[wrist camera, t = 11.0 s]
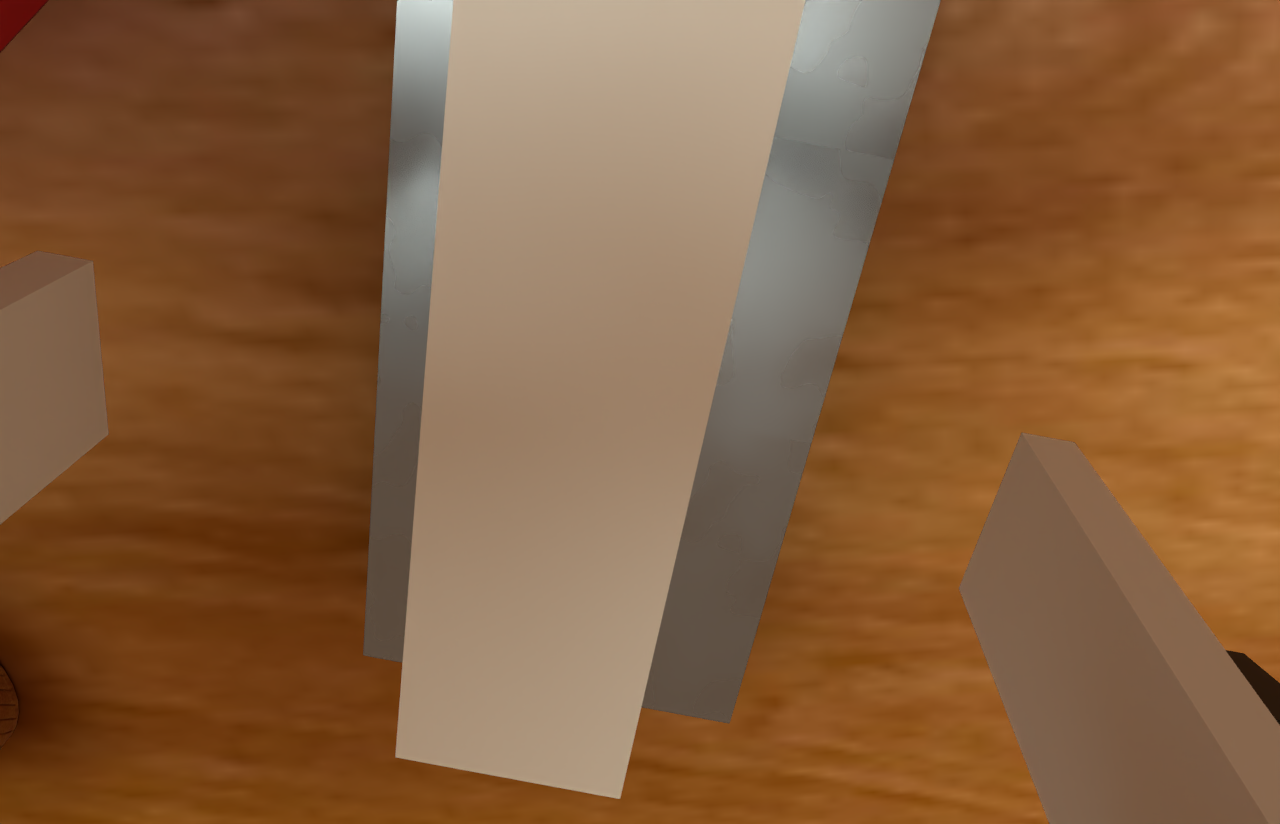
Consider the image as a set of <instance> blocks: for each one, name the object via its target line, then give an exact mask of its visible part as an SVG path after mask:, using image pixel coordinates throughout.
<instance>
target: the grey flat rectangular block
mask: <svg viewBox="0 0 1280 824" xmlns="http://www.w3.org/2000/svg"><path fill="white" fill-rule="evenodd" d="M940 1H941V0H805V4H804V9H803V13H802V17H801V21H800V26H799V30H798V34H797V39H796V43H795V47H794V52H793V56H792V60H791V65H790V69H789V73H788V77H787V82H786V86H785V90H784V95H783V99H782V103H781V108H780V112H779V116H778V121H777V125H776V129H775V133H774V138H773V142H772V146H771V151H770V155H769V159H768V164H767V168H766V172H765V177H764V181H763V185H762V189H761V194H760V198H759V202H758V207H757V211H756V215H755V220H754V224H753V228H752V233H751V237H750V241H749V245H748V250H747V254H746V258H745V263H744V267H743V271H742V276H741V280H740V284H739V289H738V293H737V297H736V301H735V306H734V310H733V314H732V319H731V323H730V327H729V332H728V336H727V340H726V344H725V349H724V353H723V357H722V362H721V366H720V370H719V375H718V379H717V383H716V388H715V392H714V396H713V400H712V405H711V409H710V413H709V418H708V422H707V426H706V431H705V435H704V439H703V444H702V448H701V452H700V456H699V461H698V465H697V469H696V474H695V478H694V482H693V487H692V491H691V495H690V500H689V504H688V508H687V512H686V517H685V521H684V525H683V530H682V534H681V538H680V543H679V547H678V551H677V556H676V560H675V564H674V568H673V573H672V577H671V581H670V586H669V590H668V594H667V599H666V603H665V607H664V612H663V616H662V620H661V624H660V629H659V633H658V637H657V642H656V646H655V650H654V655H653V659H652V663H651V668H650V672H649V676H648V680H647V685H646V689H645V693H644V698H643V702H642V706H641V707H644V708H649V709H654V710H660V711H665V712H670V713H676V714H681V715H686V716H692V717H697V718H703V719H708V720H713V721H719V722H724V723H730V720H731V717H732V713H733V710H734V706H735V703H736V699H737V696H738V693H739V689H740V686H741V682H742V679H743V675H744V672H745V669H746V665H747V662H748V658H749V655H750V651H751V648H752V645H753V641H754V638H755V634H756V631H757V627H758V624H759V621H760V617H761V614H762V610H763V607H764V604H765V600H766V597H767V593H768V590H769V586H770V583H771V580H772V576H773V573H774V569H775V566H776V562H777V559H778V556H779V552H780V549H781V545H782V542H783V538H784V535H785V532H786V528H787V525H788V521H789V518H790V514H791V511H792V508H793V504H794V501H795V497H796V494H797V490H798V487H799V484H800V480H801V477H802V473H803V470H804V466H805V463H806V460H807V456H808V453H809V449H810V446H811V442H812V439H813V436H814V432H815V429H816V425H817V422H818V418H819V415H820V412H821V408H822V405H823V401H824V398H825V395H826V391H827V388H828V384H829V381H830V377H831V374H832V371H833V367H834V364H835V360H836V357H837V353H838V350H839V347H840V343H841V340H842V336H843V333H844V329H845V326H846V323H847V319H848V316H849V312H850V309H851V305H852V302H853V299H854V295H855V292H856V288H857V285H858V281H859V278H860V275H861V271H862V268H863V264H864V261H865V257H866V254H867V251H868V247H869V244H870V240H871V237H872V233H873V230H874V227H875V223H876V220H877V216H878V213H879V210H880V206H881V203H882V199H883V196H884V192H885V189H886V186H887V182H888V179H889V175H890V172H891V168H892V165H893V162H894V158H895V155H896V151H897V148H898V144H899V141H900V138H901V134H902V131H903V127H904V124H905V120H906V117H907V114H908V110H909V107H910V103H911V100H912V96H913V93H914V90H915V86H916V83H917V79H918V76H919V72H920V69H921V66H922V62H923V59H924V55H925V52H926V48H927V45H928V42H929V38H930V35H931V31H932V28H933V24H934V21H935V18H936V14H937V11H938V7H939V4H940ZM452 11H453V0H397V13H396V33H395V52H394V71H393V91H392V110H391V129H390V149H389V168H388V187H387V206H386V226H385V245H384V264H383V284H382V303H381V322H380V342H379V361H378V380H377V400H376V419H375V438H374V457H373V477H372V496H371V515H370V535H369V554H368V573H367V593H366V612H365V631H364V651H363V655H364V656H370V657H375V658H380V659H386V660H391V661H397V662H402V663H403V650H404V637H405V624H406V611H407V598H408V585H409V572H410V559H411V546H412V533H413V520H414V507H415V494H416V481H417V468H418V455H419V442H420V428H421V415H422V402H423V389H424V376H425V363H426V350H427V337H428V324H429V311H430V298H431V285H432V272H433V259H434V246H435V233H436V220H437V207H438V194H439V180H440V167H441V154H442V141H443V128H444V115H445V102H446V89H447V76H448V63H449V50H450V37H451V24H452Z"/></svg>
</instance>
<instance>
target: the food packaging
mask: <svg viewBox="0 0 1280 824" xmlns="http://www.w3.org/2000/svg"><path fill="white" fill-rule="evenodd" d="M48 1H49V0H0V52H1V51H2V50H3V49H4V48H5V47H6V46H7V45H8V44H9V42H10V41H11V40H12V39H13V38H14V37H15V36H16V35H17V34H18V33H19V32H20V31H21V30H22V28H23V27H24V26H25V25H26V24H27V23H28V22H29V21H30V20H31V19H32V18H33V17H34V16H35V15H36V13H37V12H38V11H39V10H40V9H41V8H42V7H43V6H44V5H45V4H46V3H47V2H48Z"/></svg>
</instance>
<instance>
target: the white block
mask: <svg viewBox="0 0 1280 824" xmlns="http://www.w3.org/2000/svg"><path fill="white" fill-rule="evenodd" d="M804 4H805V0H453V11H452V24H451V37H450V50H449V63H448V76H447V89H446V102H445V115H444V128H443V141H442V154H441V167H440V180H439V194H438V207H437V220H436V233H435V246H434V259H433V272H432V285H431V298H430V311H429V324H428V337H427V350H426V363H425V376H424V389H423V402H422V415H421V428H420V442H419V455H418V468H417V481H416V494H415V507H414V520H413V533H412V546H411V559H410V572H409V585H408V598H407V611H406V624H405V637H404V650H403V663H402V676H401V690H400V703H399V716H398V729H397V742H396V755H395V757H396V758H401V759H407V760H412V761H418V762H423V763H428V764H434V765H439V766H445V767H450V768H455V769H461V770H466V771H472V772H477V773H482V774H488V775H493V776H498V777H504V778H509V779H515V780H520V781H525V782H531V783H536V784H542V785H547V786H552V787H558V788H563V789H569V790H574V791H579V792H585V793H590V794H595V795H601V796H606V797H612V798H617V799H620V797H621V792H622V788H623V784H624V779H625V775H626V771H627V767H628V762H629V758H630V754H631V749H632V745H633V741H634V736H635V732H636V728H637V724H638V719H639V715H640V711H641V706H642V702H643V698H644V693H645V689H646V685H647V680H648V676H649V672H650V668H651V663H652V659H653V655H654V650H655V646H656V642H657V637H658V633H659V629H660V624H661V620H662V616H663V612H664V607H665V603H666V599H667V594H668V590H669V586H670V581H671V577H672V573H673V568H674V564H675V560H676V556H677V551H678V547H679V543H680V538H681V534H682V530H683V525H684V521H685V517H686V512H687V508H688V504H689V500H690V495H691V491H692V487H693V482H694V478H695V474H696V469H697V465H698V461H699V456H700V452H701V448H702V444H703V439H704V435H705V431H706V426H707V422H708V418H709V413H710V409H711V405H712V400H713V396H714V392H715V388H716V383H717V379H718V375H719V370H720V366H721V362H722V357H723V353H724V349H725V344H726V340H727V336H728V332H729V327H730V323H731V319H732V314H733V310H734V306H735V301H736V297H737V293H738V289H739V284H740V280H741V276H742V271H743V267H744V263H745V258H746V254H747V250H748V245H749V241H750V237H751V233H752V228H753V224H754V220H755V215H756V211H757V207H758V202H759V198H760V194H761V189H762V185H763V181H764V177H765V172H766V168H767V164H768V159H769V155H770V151H771V146H772V142H773V138H774V133H775V129H776V125H777V121H778V116H779V112H780V108H781V103H782V99H783V95H784V90H785V86H786V82H787V77H788V73H789V69H790V65H791V60H792V56H793V52H794V47H795V43H796V39H797V34H798V30H799V26H800V21H801V17H802V13H803V9H804Z"/></svg>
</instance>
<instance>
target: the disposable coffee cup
mask: <svg viewBox="0 0 1280 824" xmlns="http://www.w3.org/2000/svg"><path fill="white" fill-rule="evenodd" d="M18 716H19V708H18V699H17V696H16V693H15V690H14V687H13V684H12V683H11V681H10V679H9V677H8V676H7V674H6V672H5V670H4V669H3V668H2V667H1V666H0V750H1V748H2V747H3V745H4V744H5V742H6V741H7V740H8V739H9V738H10V736H11V734H12V733H13V731H14V729H15V728H16V725H17V720H18Z"/></svg>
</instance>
